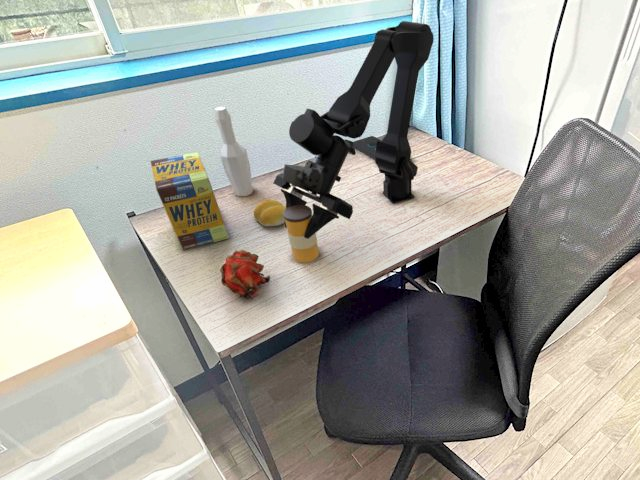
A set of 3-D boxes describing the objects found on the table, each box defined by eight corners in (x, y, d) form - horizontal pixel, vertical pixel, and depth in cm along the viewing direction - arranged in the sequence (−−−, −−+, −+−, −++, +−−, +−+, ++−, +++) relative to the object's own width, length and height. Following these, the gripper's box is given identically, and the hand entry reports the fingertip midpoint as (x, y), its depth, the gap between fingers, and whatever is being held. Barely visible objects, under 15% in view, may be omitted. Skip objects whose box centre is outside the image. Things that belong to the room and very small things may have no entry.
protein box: (183, 251, 97) (155, 189, 87) (174, 219, 107) (149, 160, 97) (229, 238, 101) (209, 177, 90) (217, 208, 111) (197, 150, 100)
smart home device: (372, 134, 140) (411, 155, 128) (373, 140, 141) (411, 161, 130) (351, 141, 137) (388, 163, 125) (352, 146, 138) (388, 168, 126)
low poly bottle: (239, 185, 120) (215, 103, 105) (260, 187, 119) (238, 104, 104) (228, 196, 115) (201, 112, 100) (249, 198, 114) (225, 114, 99)
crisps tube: (314, 244, 99) (306, 202, 91) (322, 258, 95) (315, 214, 87) (289, 251, 97) (279, 208, 89) (297, 265, 93) (287, 222, 85)
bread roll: (267, 232, 103) (263, 217, 100) (250, 217, 108) (246, 202, 105) (297, 219, 106) (294, 205, 104) (279, 205, 112) (276, 191, 109)
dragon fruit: (246, 274, 93) (261, 314, 87) (206, 268, 87) (220, 310, 81) (263, 245, 90) (280, 284, 83) (223, 235, 84) (238, 277, 77)
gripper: (270, 135, 86) (239, 206, 88) (336, 160, 78) (300, 238, 79) (306, 159, 96) (277, 222, 98) (368, 183, 87) (336, 252, 89)
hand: (296, 232), depth 90 cm, fingers open, 6 cm apart
